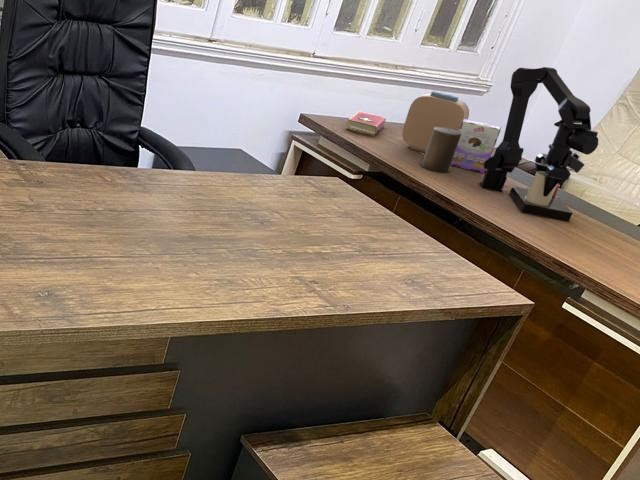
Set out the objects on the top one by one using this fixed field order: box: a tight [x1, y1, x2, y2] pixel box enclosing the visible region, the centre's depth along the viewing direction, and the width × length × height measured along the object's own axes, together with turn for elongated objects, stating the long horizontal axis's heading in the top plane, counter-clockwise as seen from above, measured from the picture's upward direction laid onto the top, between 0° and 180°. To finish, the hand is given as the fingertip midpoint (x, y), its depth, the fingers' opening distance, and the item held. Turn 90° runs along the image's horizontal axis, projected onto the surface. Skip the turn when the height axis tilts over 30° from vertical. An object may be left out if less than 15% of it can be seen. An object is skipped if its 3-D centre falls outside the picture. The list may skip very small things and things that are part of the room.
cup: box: [525, 171, 559, 206], centre depth 257 cm, size 7×7×9 cm
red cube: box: [552, 183, 561, 197], centre depth 267 cm, size 4×4×4 cm
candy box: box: [450, 118, 502, 174], centre depth 292 cm, size 14×6×16 cm, turn 65°
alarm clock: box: [401, 90, 470, 154], centre depth 305 cm, size 21×10×22 cm, turn 58°
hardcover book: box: [346, 110, 387, 137], centre depth 327 cm, size 12×21×4 cm, turn 155°
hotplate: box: [508, 185, 573, 223], centre depth 264 cm, size 16×21×3 cm
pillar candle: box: [421, 127, 461, 173], centre depth 285 cm, size 10×10×15 cm
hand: (541, 191), depth 258 cm, fingers open, 9 cm apart
